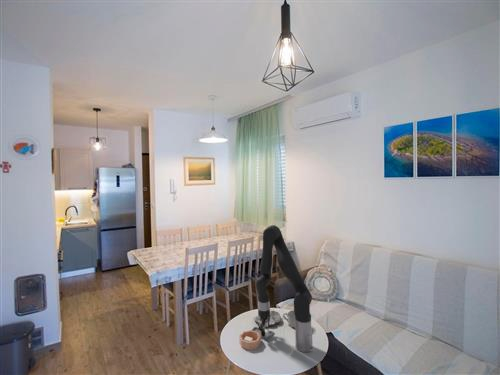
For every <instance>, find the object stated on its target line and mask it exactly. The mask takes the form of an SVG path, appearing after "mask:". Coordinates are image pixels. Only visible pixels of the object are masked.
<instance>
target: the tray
mask: <svg viewBox="0 0 500 375" xmlns="http://www.w3.org/2000/svg"><path fill="white" fill-rule="evenodd" d="M251 330H252V331H256V332H258V333H259V335H260V330H259V327H258V326H253V328H252V329H251ZM274 334H275V332H274V331H273V330H269V336H268V337H267V338H265V337H261V336H260V337H261V340H264V341H268V342H269V341H270V339H271V338H272V336H273V335H274Z"/></svg>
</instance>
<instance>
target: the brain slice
mask: <svg viewBox="0 0 500 375" xmlns="http://www.w3.org/2000/svg"><path fill="white" fill-rule="evenodd" d="M281 319H282V317H281V315H280V313H279V312H278V311H276V310H270V321H269V325H268V327H272V326H274V325H277V324H280V322H281ZM253 320H254V321H255V322H256V323H257V324H258V323H260V316H259V315H258V314H257V315H255V316H253Z"/></svg>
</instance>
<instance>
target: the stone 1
mask: <svg viewBox="0 0 500 375" xmlns="http://www.w3.org/2000/svg"><path fill="white" fill-rule="evenodd" d="M244 340H245V341H248V342H250V341H253V338H251V337H247V336H246V337H245V338H244Z"/></svg>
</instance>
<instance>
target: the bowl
mask: <svg viewBox="0 0 500 375" xmlns="http://www.w3.org/2000/svg"><path fill="white" fill-rule="evenodd" d="M246 336H247V337H251V338H253V341H250V342H248V341H245V340H244V338H245V337H246ZM238 337H239V339H238V340H239V345H240V348H242V349H244V350H246V351H247V350H248V351H251V350H255V349H256V350H257V349H258V348H259V346H260V345H261V344H262V342H261V340H262V339H261V337H260V335H259V333H258V332H256V331H252V329H250V330H246V331H242V332H241V334H239V336H238Z"/></svg>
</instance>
